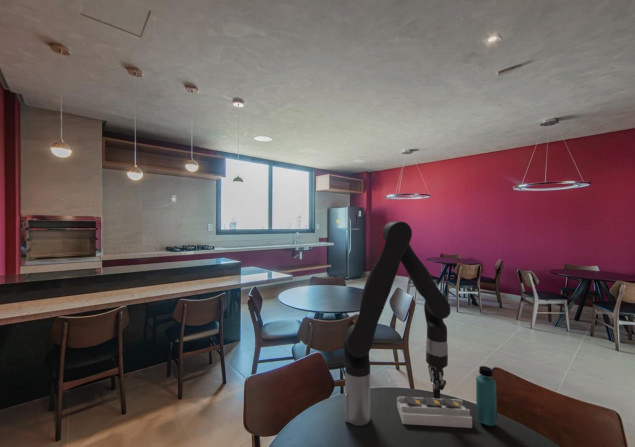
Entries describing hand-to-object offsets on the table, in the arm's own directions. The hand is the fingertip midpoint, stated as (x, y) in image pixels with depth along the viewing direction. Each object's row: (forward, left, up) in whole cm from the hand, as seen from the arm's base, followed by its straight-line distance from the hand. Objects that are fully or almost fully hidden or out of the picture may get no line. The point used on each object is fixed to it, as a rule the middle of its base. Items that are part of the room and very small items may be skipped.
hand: (436, 397), depth 106 cm
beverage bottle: (+17, -2, -7) cm, 18 cm away
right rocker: (+6, 0, -2) cm, 6 cm away
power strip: (-1, 0, -7) cm, 7 cm away
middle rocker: (-1, 0, -2) cm, 3 cm away
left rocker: (-8, 0, -2) cm, 9 cm away
